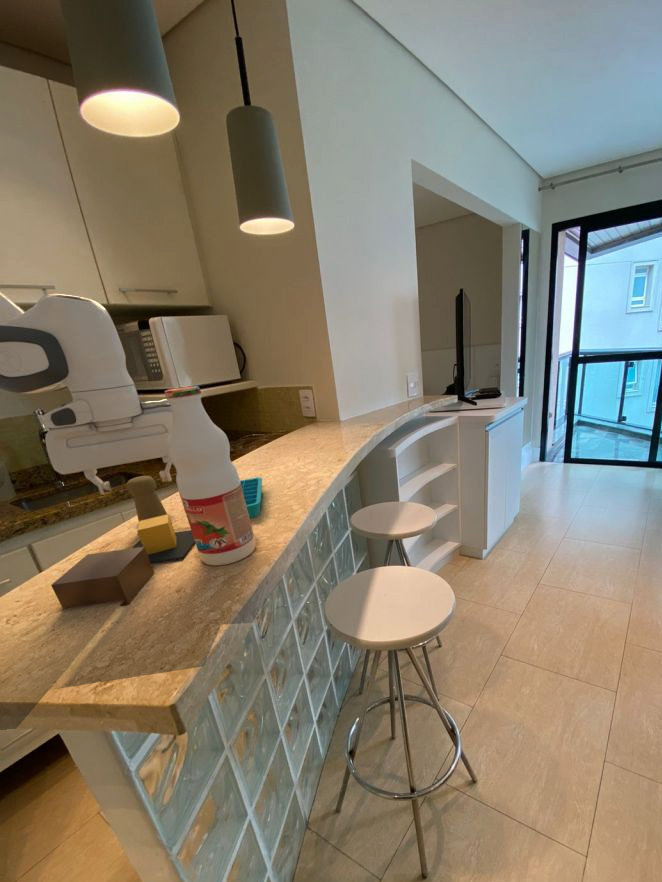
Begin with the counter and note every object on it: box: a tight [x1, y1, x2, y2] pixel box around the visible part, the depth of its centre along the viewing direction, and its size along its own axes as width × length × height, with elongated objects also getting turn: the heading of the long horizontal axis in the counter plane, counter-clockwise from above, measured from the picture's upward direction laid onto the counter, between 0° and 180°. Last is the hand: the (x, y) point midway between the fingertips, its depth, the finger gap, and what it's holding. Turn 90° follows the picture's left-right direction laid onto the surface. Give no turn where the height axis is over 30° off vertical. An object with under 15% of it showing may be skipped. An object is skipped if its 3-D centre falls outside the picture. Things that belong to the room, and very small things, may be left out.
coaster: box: [131, 529, 196, 565], centre depth 76 cm, size 12×12×1 cm
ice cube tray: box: [240, 476, 263, 519], centre depth 93 cm, size 12×20×3 cm, turn 14°
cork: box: [126, 475, 173, 524], centre depth 85 cm, size 6×6×11 cm
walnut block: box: [50, 547, 155, 610], centre depth 62 cm, size 9×9×5 cm
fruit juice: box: [164, 385, 257, 566], centre depth 66 cm, size 9×9×28 cm
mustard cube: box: [136, 513, 176, 555], centre depth 75 cm, size 5×5×5 cm
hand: (137, 486), depth 71 cm, fingers open, 8 cm apart
